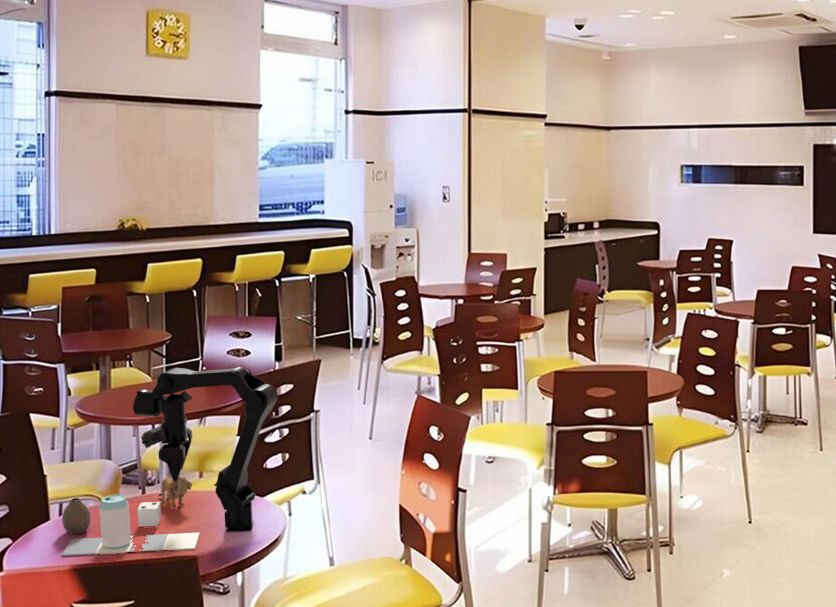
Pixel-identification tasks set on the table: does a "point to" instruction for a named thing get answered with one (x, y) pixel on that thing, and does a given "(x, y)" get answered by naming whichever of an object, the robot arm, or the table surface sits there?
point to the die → (149, 514)
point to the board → (154, 543)
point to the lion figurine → (175, 489)
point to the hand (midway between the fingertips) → (177, 475)
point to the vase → (76, 517)
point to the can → (115, 521)
